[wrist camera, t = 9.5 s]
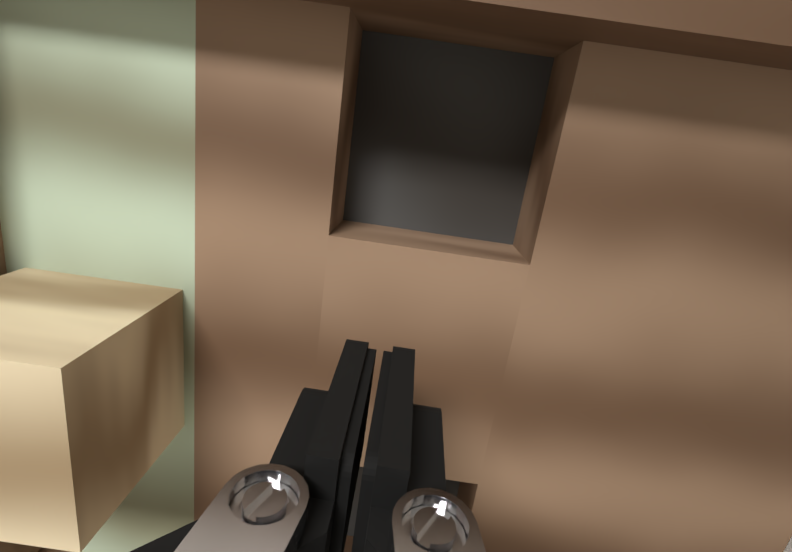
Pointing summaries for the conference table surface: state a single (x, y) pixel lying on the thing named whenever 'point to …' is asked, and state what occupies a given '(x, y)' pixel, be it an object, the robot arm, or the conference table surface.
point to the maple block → (82, 399)
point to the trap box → (439, 240)
